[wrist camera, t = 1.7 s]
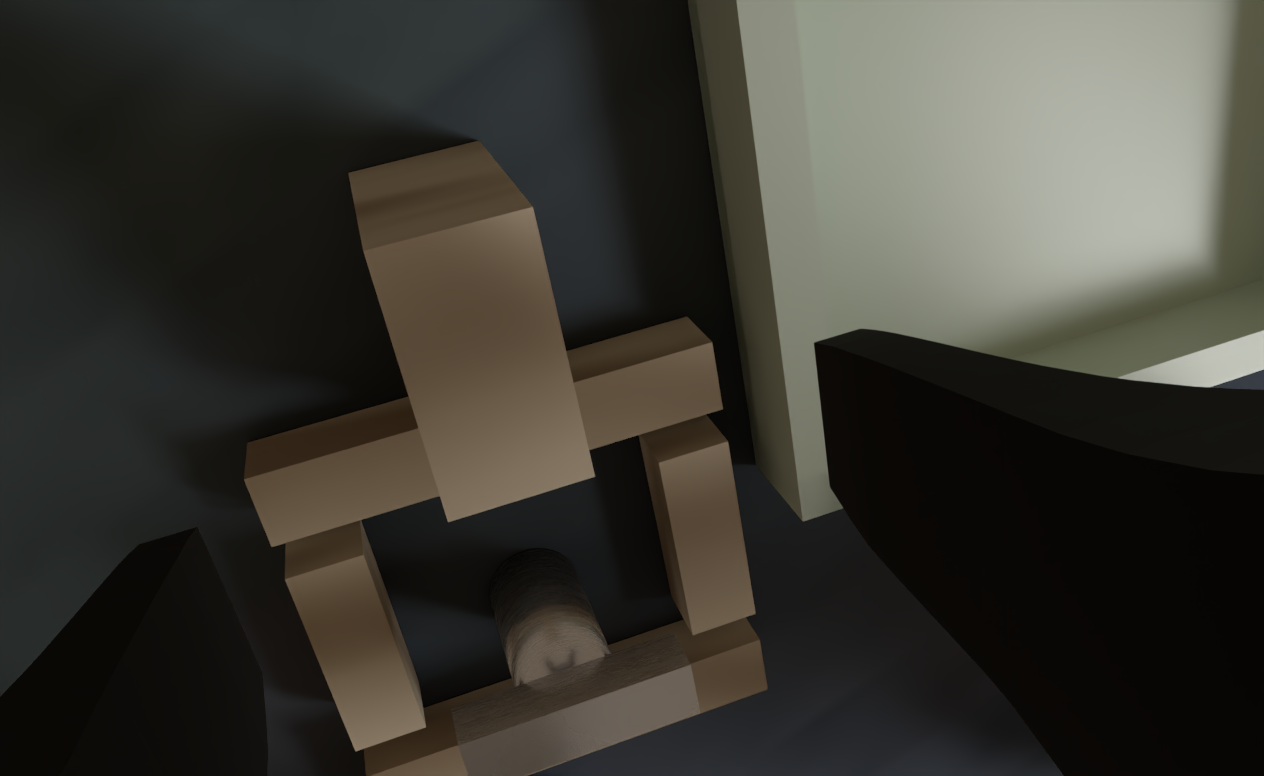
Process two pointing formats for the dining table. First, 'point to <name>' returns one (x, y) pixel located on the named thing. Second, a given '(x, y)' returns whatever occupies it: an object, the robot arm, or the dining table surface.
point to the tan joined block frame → (492, 449)
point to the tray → (983, 190)
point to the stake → (565, 676)
